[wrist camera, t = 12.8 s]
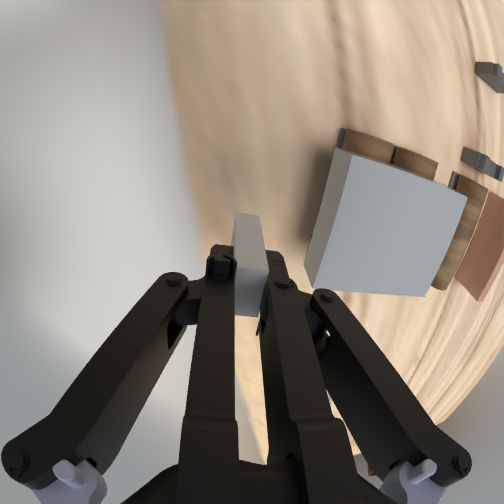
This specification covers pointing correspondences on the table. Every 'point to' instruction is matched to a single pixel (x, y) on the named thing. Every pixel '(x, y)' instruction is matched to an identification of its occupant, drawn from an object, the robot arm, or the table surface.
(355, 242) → the slab
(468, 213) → the roller
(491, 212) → the block
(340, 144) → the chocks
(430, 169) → the roller
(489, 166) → the rack
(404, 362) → the table surface
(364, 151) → the roller
